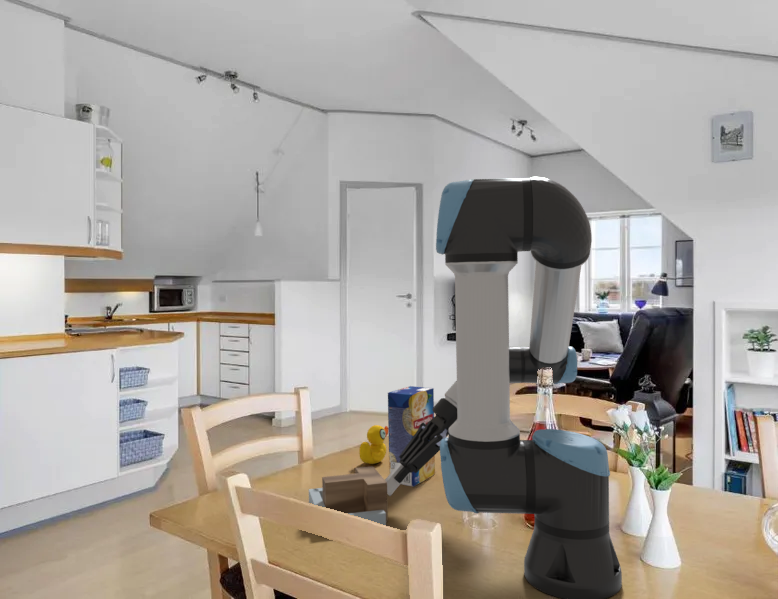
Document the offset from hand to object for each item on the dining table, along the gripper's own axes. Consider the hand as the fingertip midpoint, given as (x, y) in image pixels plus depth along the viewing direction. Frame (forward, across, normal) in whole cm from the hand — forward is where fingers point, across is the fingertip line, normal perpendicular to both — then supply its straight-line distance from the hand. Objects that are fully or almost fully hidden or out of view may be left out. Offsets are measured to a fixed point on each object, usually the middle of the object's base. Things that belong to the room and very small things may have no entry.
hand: (384, 491), depth 130 cm
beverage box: (-5, +19, -12) cm, 23 cm away
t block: (+8, -1, +2) cm, 8 cm away
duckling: (-1, +35, -7) cm, 35 cm away
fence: (+9, 0, +3) cm, 9 cm away
